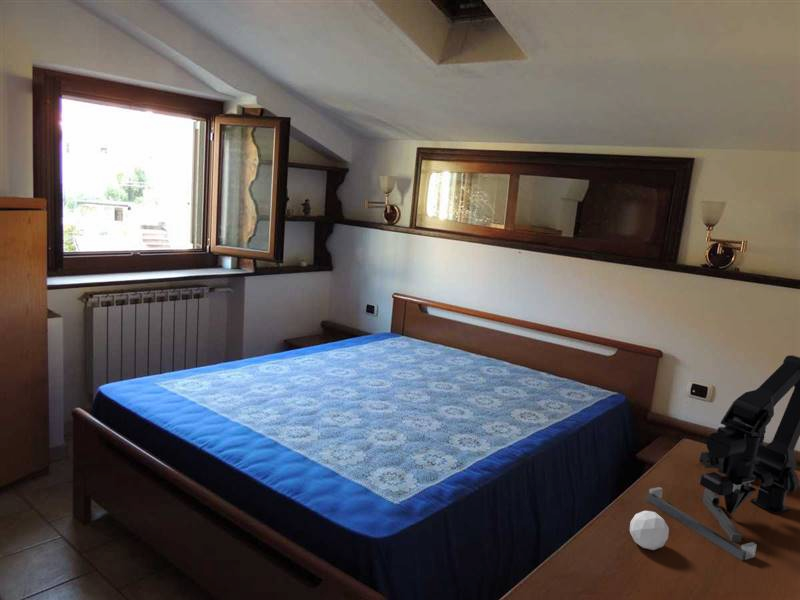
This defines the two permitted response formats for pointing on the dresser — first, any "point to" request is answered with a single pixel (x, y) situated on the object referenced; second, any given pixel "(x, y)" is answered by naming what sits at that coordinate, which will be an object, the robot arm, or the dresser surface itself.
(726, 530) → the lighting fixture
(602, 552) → the dresser surface
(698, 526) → the end cap rail
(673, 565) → the dresser surface
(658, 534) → the geometric ball
